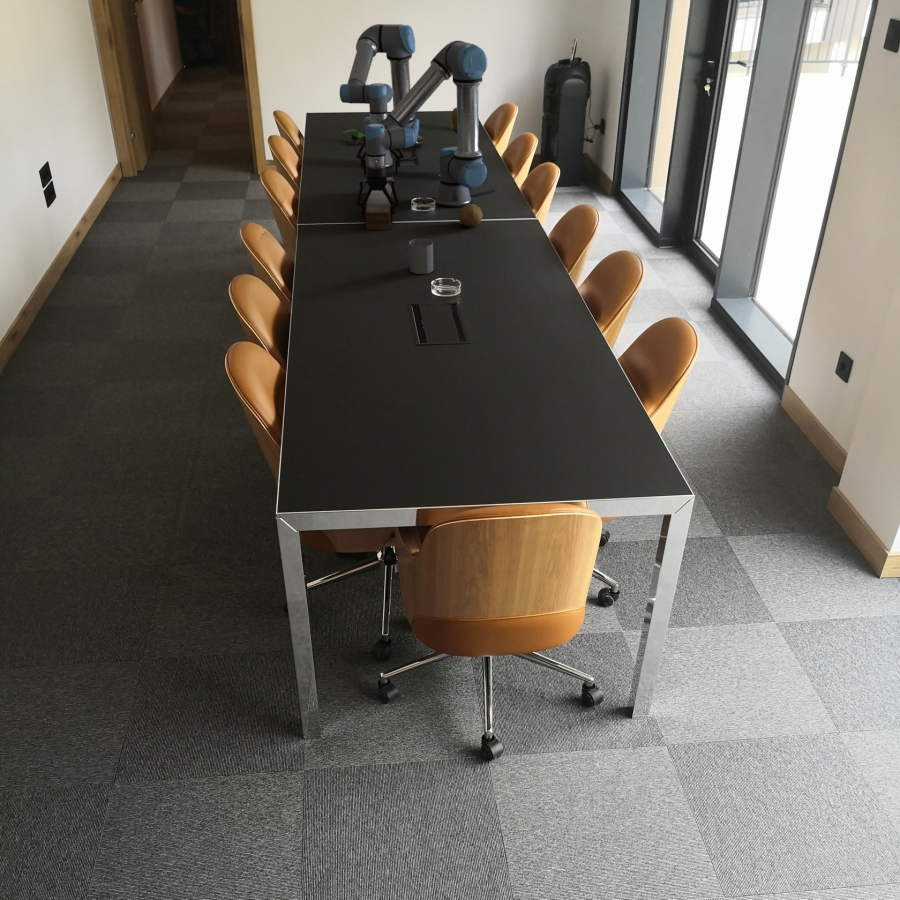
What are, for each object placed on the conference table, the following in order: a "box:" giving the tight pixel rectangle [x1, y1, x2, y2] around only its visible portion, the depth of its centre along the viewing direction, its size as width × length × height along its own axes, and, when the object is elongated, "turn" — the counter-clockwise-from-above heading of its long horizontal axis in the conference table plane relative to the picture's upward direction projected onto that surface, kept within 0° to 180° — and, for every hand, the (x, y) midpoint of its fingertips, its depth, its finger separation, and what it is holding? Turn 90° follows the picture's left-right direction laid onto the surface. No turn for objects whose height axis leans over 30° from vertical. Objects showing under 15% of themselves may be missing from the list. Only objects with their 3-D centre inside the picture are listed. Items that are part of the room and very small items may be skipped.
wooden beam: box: [364, 176, 394, 231], centre depth 365 cm, size 51×10×7 cm, turn 2°
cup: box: [408, 237, 434, 275], centre depth 305 cm, size 8×8×10 cm
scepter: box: [341, 128, 364, 146], centre depth 466 cm, size 6×13×30 cm
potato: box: [458, 203, 484, 228], centre depth 347 cm, size 10×14×8 cm
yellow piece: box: [451, 107, 457, 131], centre depth 487 cm, size 11×11×13 cm
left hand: (381, 174), depth 376 cm, fingers open, 13 cm apart
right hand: (378, 222), depth 352 cm, fingers closed on wooden beam, 10 cm apart
